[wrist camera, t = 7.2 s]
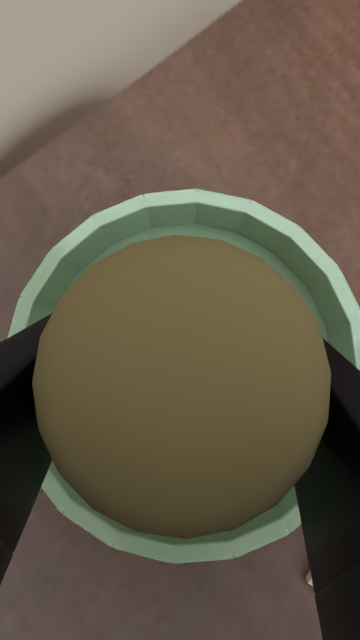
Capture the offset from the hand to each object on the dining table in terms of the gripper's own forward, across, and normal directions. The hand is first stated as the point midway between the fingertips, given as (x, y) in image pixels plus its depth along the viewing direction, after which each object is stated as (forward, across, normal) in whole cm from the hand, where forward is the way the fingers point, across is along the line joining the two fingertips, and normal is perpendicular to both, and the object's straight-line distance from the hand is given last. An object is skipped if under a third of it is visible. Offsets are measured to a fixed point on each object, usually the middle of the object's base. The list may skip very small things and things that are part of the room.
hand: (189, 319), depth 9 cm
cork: (+4, 0, +6) cm, 7 cm away
